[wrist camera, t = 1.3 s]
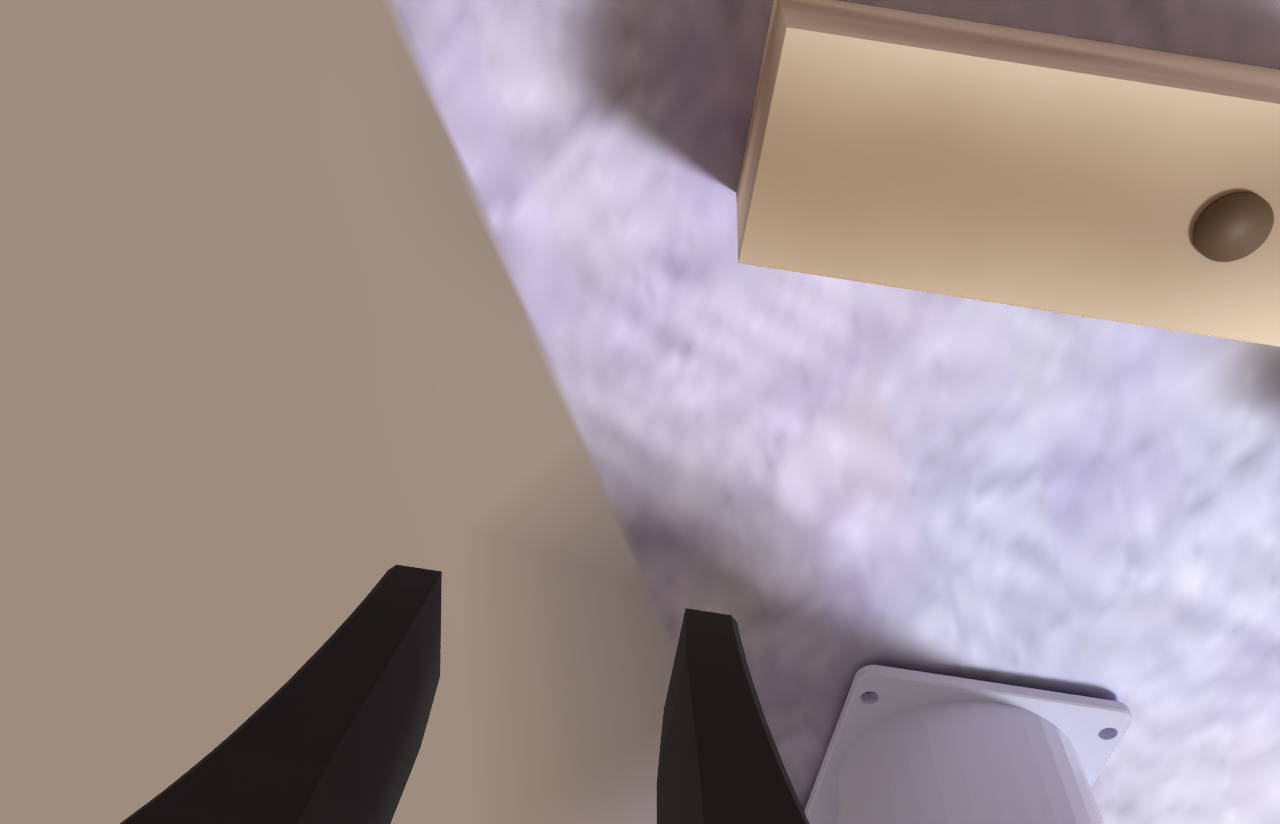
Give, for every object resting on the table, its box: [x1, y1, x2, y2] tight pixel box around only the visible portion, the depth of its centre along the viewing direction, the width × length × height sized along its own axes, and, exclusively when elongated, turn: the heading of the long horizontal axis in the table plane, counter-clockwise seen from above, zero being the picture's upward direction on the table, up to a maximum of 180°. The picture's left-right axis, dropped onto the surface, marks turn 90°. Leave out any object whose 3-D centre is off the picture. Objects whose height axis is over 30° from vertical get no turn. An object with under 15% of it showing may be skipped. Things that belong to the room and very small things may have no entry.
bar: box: [736, 0, 1280, 347], centre depth 17 cm, size 4×12×4 cm, turn 83°
